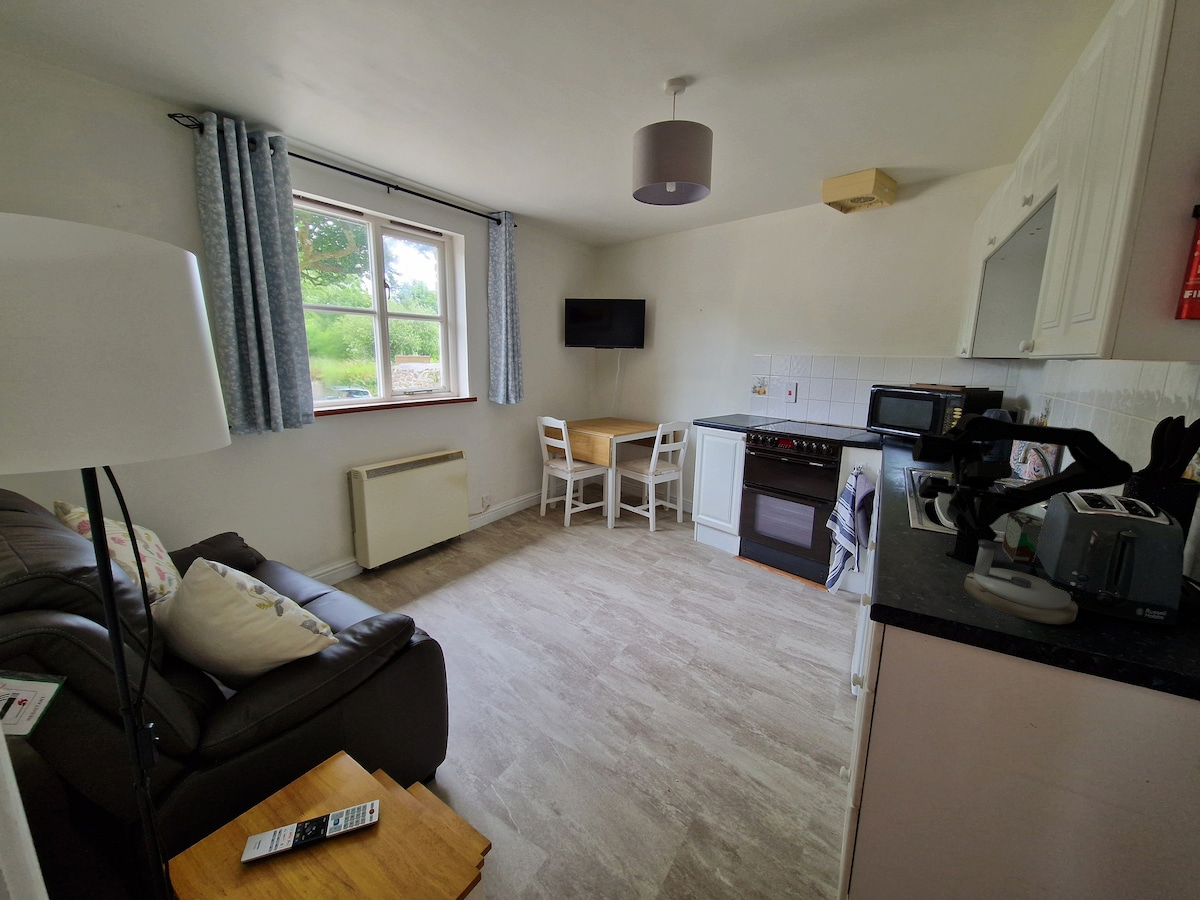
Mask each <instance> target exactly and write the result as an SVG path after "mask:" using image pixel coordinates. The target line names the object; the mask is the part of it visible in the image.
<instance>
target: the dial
mask: <svg viewBox="0 0 1200 900" xmlns="http://www.w3.org/2000/svg"><path fill="white" fill-rule="evenodd" d="M978 545H979V551H978V555H977V560H976V564H975V565H974V570H973V572H974V573H975V575H974V580H975V582H976V583H977V584H978V585H979V586H981V587H982V588H984V589H985V590H987V591H989V592H991V593H993V594H995V595H997V596H1000V597H1002V598H1005V599H1008V600H1011V601H1014V602H1017V603H1020V604H1024V605H1028V606H1033V607H1038V608H1044V609H1064V608H1066V607H1068V606H1069V604H1070V600H1071V599H1072V597H1071V595H1070V594H1069V592H1067V591H1066V590H1065V589H1064V590H1065V591H1064V590H1061V589H1058V588H1055V587H1053V586H1051V585H1050V584H1049V583H1048V582H1049V581H1048V580H1045V579H1043V578H1040V577H1038V576H1035V575H1032V574H1028V573H1026V572H1022V571H1017V570H1012V569H1006V568H1001V567H992V563H993V559H994V554H995V550H997V549H998V546H999V544H998V543H997V542H995V541H989V540H982V539H981V540H979V542H978ZM1047 581H1048V582H1047Z"/></svg>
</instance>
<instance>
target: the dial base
mask: <svg viewBox="0 0 1200 900" xmlns="http://www.w3.org/2000/svg"><path fill="white" fill-rule="evenodd" d="M974 575H975V573H974V571H973V572H969V573H967V575H966V578H965V582H964V585H963V586H964V589H965V592H967V594H969V595H970V596H971V597H972V598H974V599H975V600H976V601H978V602H980V603H981V604H983V605H986V606H987V607H990V608H991V609H994V610H996V611H999V612H1000V613H1004V614H1006V615H1007V614H1008V615H1010V616H1012V617H1016V618H1019V619H1022V620H1027V621H1031V622H1036V623H1040V624H1041V623H1042V624H1050V625H1066V624H1071V623H1073V622H1075V621H1076V617H1077V614H1078V610H1079V607H1078V604H1077V603H1076V602H1075V601H1074V600H1073V599H1072V600H1073V601H1072V600H1070V604H1069V606H1068V607H1066V608H1064V609H1044V608H1038V607H1033V606H1028V605H1024V604H1020V603H1017V602H1014V601H1011V600H1008V599H1005V598H1002V597H1000V596H997V595H995V594H993V593H991V592H989V591H987V590H985V589H984V588H982V587H981V586H979V585H978V584H977V583H976V582H975V580H974Z"/></svg>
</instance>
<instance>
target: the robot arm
mask: <svg viewBox="0 0 1200 900" xmlns="http://www.w3.org/2000/svg"><path fill="white" fill-rule="evenodd" d="M999 441H1000V442H1001V441H1018V442H1019V441H1020V442H1027V443H1029V442H1030V443H1036V444H1037V443H1039V444H1046V445H1053V446H1054V445H1055V446H1064V447H1065V446H1066V447H1067V449H1068V452H1069V454H1070V457H1072V458H1073V460H1074V461H1072V462H1071V463H1070V464H1069V465H1067V466H1066V467H1065V468H1064V469H1063V470H1062V471H1060V472H1058V473H1055V474H1051V475H1049V476H1046V477H1043V478H1040V479H1038V480H1034V481H1032V482H1029V483H1025V484H1023V485H1022V484H1021V485H1020V486H1016V487H1014V486H1007V485H1006V487H1005V488H1003V489H1002V490H1001V491H999V490H991V489H989V488H993V487H994V486H995V484H996V483H995V481H1000V480H1003V479H1004V480H1007V479H1009V478H1011V477H1012V474H1013V469H1012V464H1011V462H1004V461H1000V462H999V463H998V462H997V463H993V462H987V461H985V457H987V456H988V455H989V454H991V452H992V451H993V449H995V447H994V446H993V445H992V444H990V443H986V442H999ZM911 458H912V461H913V462H918V463H925V464H932V465H940V466H941V465H942V466H943V465H945V464H947V463H949V462H950V461H951V462H952V471H953V472H952V473H951V479H954V481H953V482H954V485H952V484H951V485H950V481H949V479H948V478H946V477H939V476H927V477H926V478H925V479H924V480H923V481H922V483H921V484H920V485H919V487H918V497H919V498H921V499H927V500H935V499H937V498H939V496H940V495H939V494H945V495H950V497H951V499H950V500H949V501H948V506H947V509H946V515H947V517H948V519H949V520H950V521H951V522H952V524H953V527H954V528H956V529H957V531H956V536H955V541H954V546H953V548H952V549H953V550H950V551H946V552H945V555H946V556H948V557H951V558H953V559H956V560H959V561H961V562H964V563H967V564H969V565H973V566H975V564H976V560H977V555H978V551H979V545H978V542H979V540H981V539H982V540H989V541H993V542H995V539H996V538H997V537H998V533H996V531H994V529H993V528H992V527H991V525H993V524H995V522H997V521H998V520H999V519H1000V518H1001V517H1003V516H1004V515H1008V513H1010V512H1013V511H1019V512H1020V511H1021V510H1022V509H1025V508H1027V507H1031V506H1035V505H1038V504H1040V503H1043V502H1046V501H1050V500H1051V499H1050V498H1051V496H1053V495H1055V494H1058V493H1061V492H1067V493H1068V494H1071V493H1074V492H1077V491H1085V490H1086V491H1088V490H1103V489H1107V488H1108V489H1109V488H1113V487H1119V486H1123V485H1125V484H1127V483H1128V482H1130V481H1131V478H1132V476H1133V472H1134V470H1133V466H1132V465H1131V464H1130V463H1129V462H1127V461H1126V460H1123V459H1121V458H1119V455H1117V454H1116V453H1115V452H1114V451H1113V450H1111V449H1110V448H1109V447H1107V445H1105V444H1104V443H1103V442H1101V441H1100V439H1099V438H1098V436H1096V435H1095V433H1093V432H1092V431H1090V430H1087V429H1083V428H1077V427H1070V428H1067V427H1059V426H1050V425H1049V426H1048V425H1039V424H1038V425H1037V424H1031V423H1030V424H1029V423H1020V422H1011V421H1005V420H1001V419H997V418H994V417H989V416H985V415H981V414H979V413H978V414H977V413H972V412H971V413H965V414H963V415H962V416H960V417H959V418H958V419H957V421H956V423H955V424H954V425H953V426H952V427H951V428H950V429H948V430H947V431H946V432H945V433H943V434H941V435H932V434H928V433H919V437H918V438H917V439H916V441H915V443H914V444H913V446H912V451H911Z"/></svg>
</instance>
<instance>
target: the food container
mask: <svg viewBox="0 0 1200 900" xmlns="http://www.w3.org/2000/svg"><path fill="white" fill-rule="evenodd" d="M1043 520H1044V518H1043V517H1040V516H1038V515H1034V514H1032V513H1027V512H1025V511H1024V512H1023V511H1020V510H1019V511H1013V512H1010V513H1007V521H1006V525H1005V531H1004V535H1003V541H1002V545H1001V546H1002V547H1001V549H1002V548H1003V549H1002V550H1003V551H1004V552H1005V554H1006V553H1007V554H1006V555H1007V557H1008V558H1009V557H1010V558H1009V559H1010V560H1011V561H1013V562H1012V563H1016V562H1018V563H1017V564H1025V563H1028V564H1032V563H1031V562H1032V561H1033V559H1034V555H1035V551H1036V547H1037V543H1038V537H1039V534H1040V531H1041V527H1042V523H1043Z"/></svg>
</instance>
